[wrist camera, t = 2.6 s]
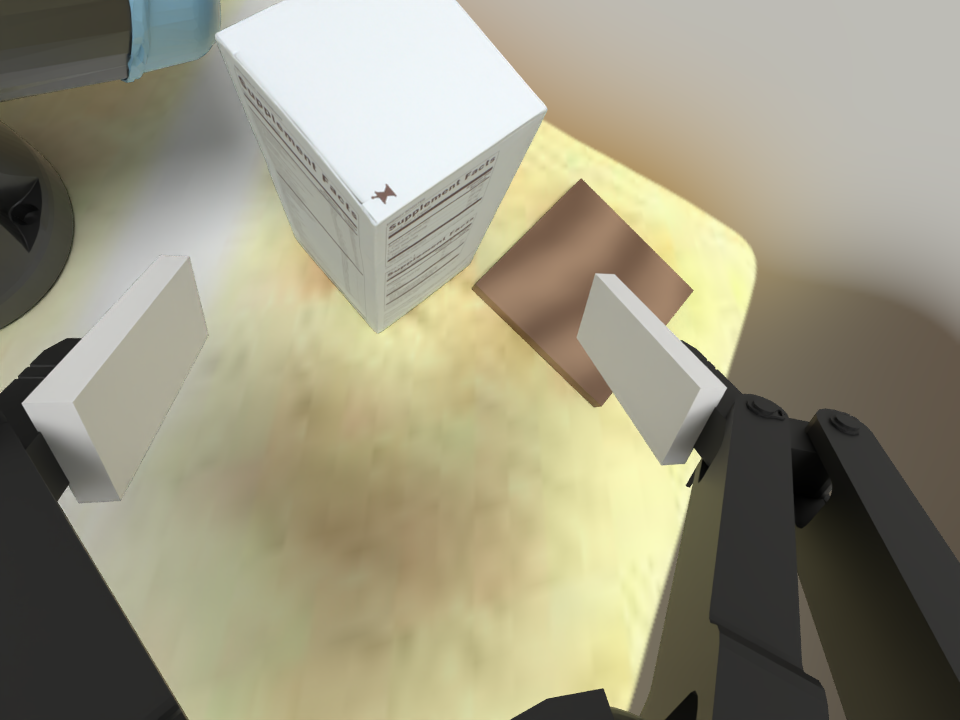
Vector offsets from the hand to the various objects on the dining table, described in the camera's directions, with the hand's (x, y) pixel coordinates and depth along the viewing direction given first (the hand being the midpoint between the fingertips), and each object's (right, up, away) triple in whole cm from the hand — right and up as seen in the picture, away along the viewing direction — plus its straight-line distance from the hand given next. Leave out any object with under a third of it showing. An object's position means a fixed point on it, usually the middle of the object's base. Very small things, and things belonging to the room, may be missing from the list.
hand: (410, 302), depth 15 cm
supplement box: (-5, +6, +18) cm, 20 cm away
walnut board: (+11, +3, +21) cm, 24 cm away
